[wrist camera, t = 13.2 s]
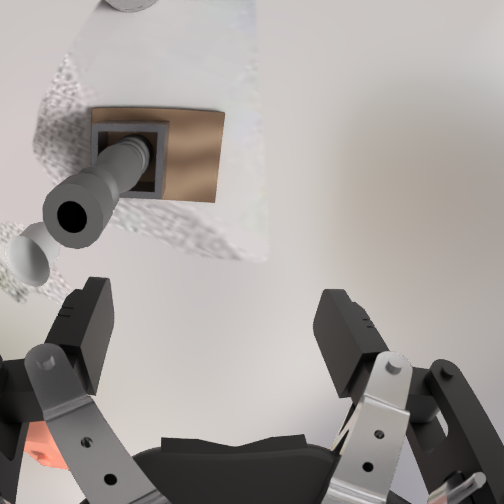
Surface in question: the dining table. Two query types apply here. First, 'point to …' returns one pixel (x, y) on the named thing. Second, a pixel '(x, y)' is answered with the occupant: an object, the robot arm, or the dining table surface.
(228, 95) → the dining table surface
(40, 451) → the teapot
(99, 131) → the collar
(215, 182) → the keeper plate
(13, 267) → the chalice
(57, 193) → the candle holder
